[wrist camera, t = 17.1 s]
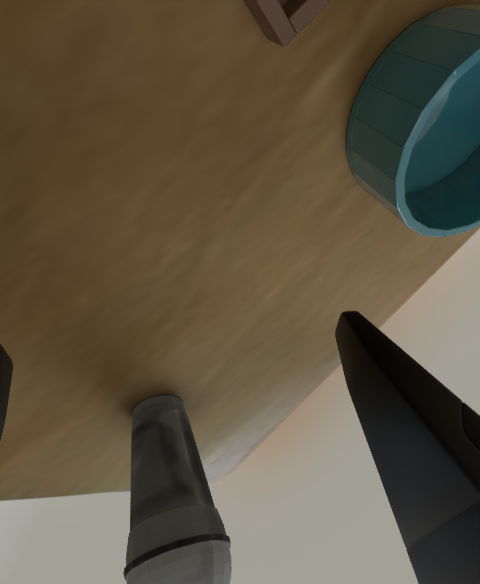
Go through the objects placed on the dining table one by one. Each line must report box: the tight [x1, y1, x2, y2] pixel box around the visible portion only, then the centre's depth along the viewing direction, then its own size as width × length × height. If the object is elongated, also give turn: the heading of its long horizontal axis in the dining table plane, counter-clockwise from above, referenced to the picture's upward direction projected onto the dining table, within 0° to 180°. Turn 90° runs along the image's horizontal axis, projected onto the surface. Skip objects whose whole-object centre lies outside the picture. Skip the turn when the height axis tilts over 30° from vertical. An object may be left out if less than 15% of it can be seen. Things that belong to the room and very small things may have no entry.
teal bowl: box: [346, 4, 480, 237], centre depth 20 cm, size 10×10×5 cm
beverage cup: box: [124, 395, 232, 584], centre depth 26 cm, size 7×7×20 cm
